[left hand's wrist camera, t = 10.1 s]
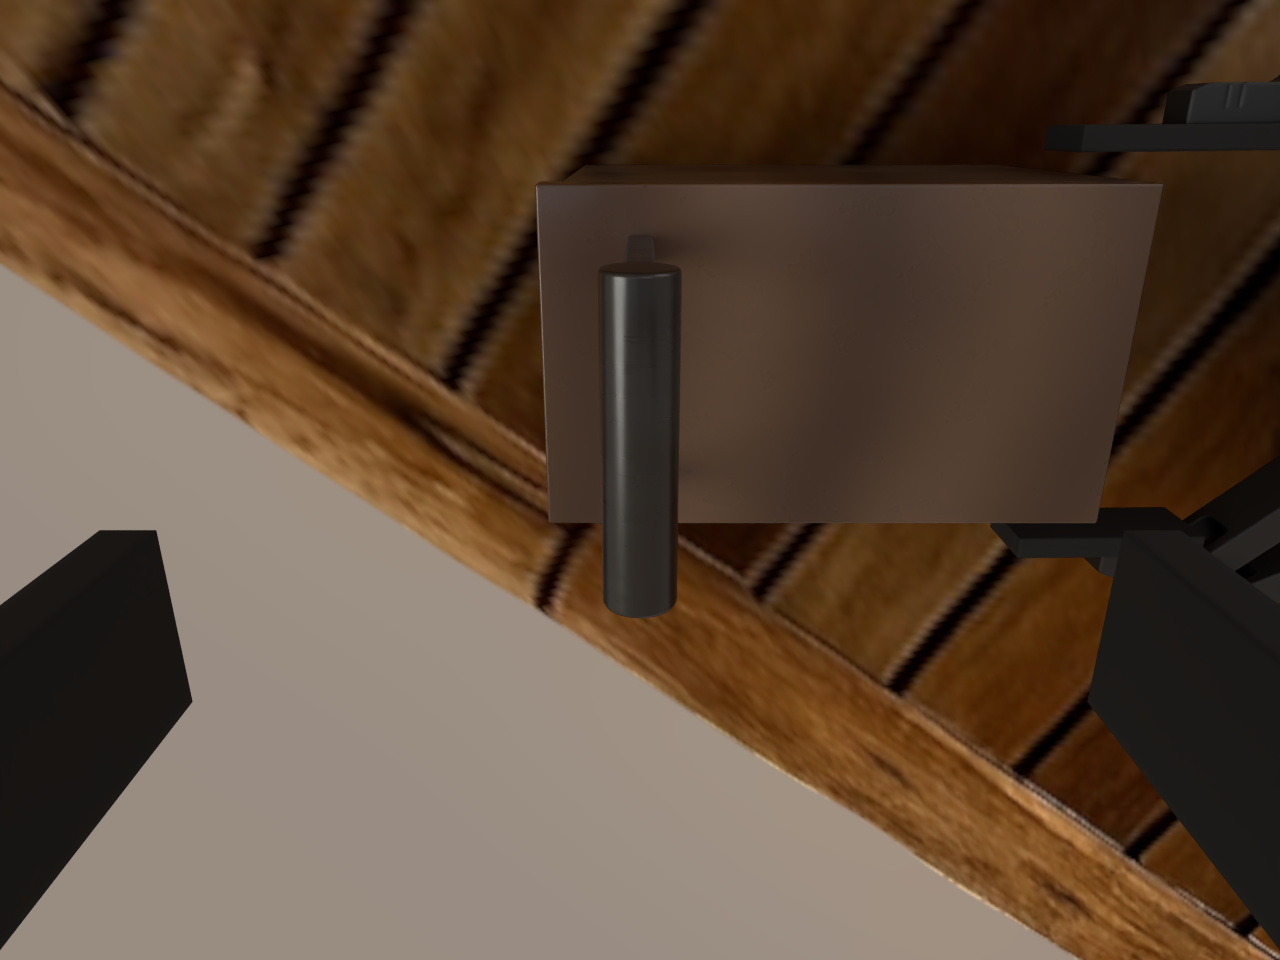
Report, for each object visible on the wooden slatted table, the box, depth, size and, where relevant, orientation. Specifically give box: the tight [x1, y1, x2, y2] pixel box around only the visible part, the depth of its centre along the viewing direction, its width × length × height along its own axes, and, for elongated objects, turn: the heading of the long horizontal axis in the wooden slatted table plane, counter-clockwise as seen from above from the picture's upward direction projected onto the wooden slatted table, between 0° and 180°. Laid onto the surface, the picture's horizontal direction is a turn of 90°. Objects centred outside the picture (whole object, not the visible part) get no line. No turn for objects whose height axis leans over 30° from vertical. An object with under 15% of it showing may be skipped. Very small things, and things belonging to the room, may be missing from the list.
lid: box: [535, 182, 1163, 618], centre depth 23 cm, size 17×10×9 cm, turn 90°
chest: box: [563, 165, 1141, 182], centre depth 32 cm, size 16×10×11 cm, turn 90°
